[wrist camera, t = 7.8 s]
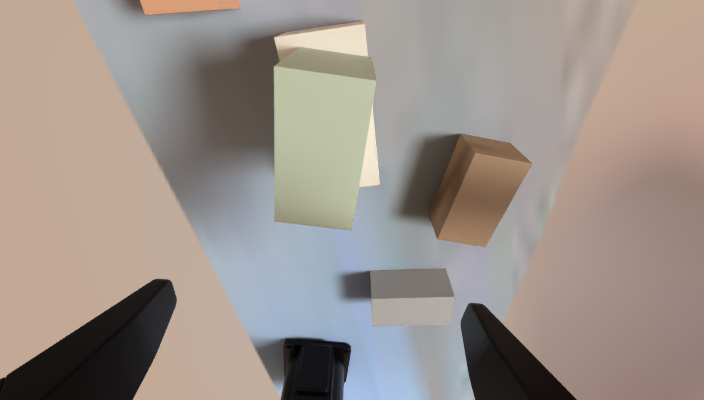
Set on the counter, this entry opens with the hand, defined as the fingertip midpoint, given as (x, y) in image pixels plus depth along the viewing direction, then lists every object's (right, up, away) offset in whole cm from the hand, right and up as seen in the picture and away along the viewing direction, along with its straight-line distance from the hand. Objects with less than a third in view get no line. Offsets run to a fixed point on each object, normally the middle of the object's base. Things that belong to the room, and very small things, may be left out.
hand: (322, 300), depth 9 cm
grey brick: (+5, -4, +16) cm, 18 cm away
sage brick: (0, +7, +6) cm, 9 cm away
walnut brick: (+8, +4, +11) cm, 15 cm away
